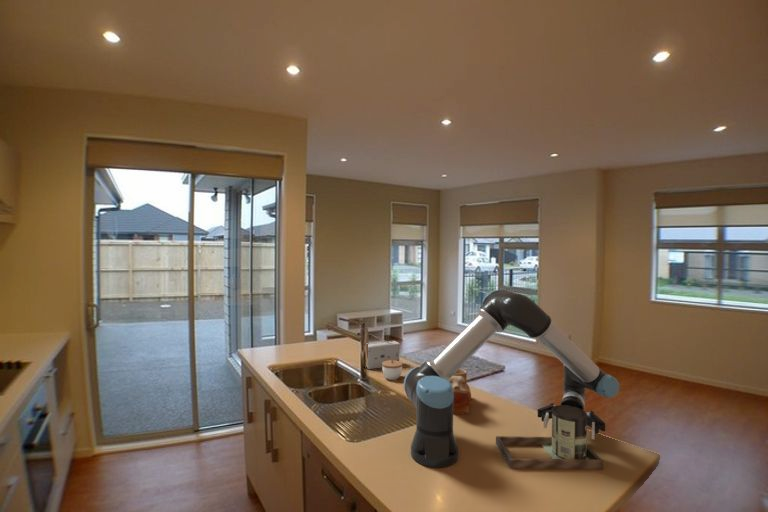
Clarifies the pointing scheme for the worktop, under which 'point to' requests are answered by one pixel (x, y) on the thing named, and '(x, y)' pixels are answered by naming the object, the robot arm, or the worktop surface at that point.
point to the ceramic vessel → (460, 392)
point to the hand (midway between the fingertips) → (568, 429)
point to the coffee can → (569, 432)
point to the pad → (550, 451)
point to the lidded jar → (392, 369)
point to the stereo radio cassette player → (382, 353)
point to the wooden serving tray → (590, 463)
